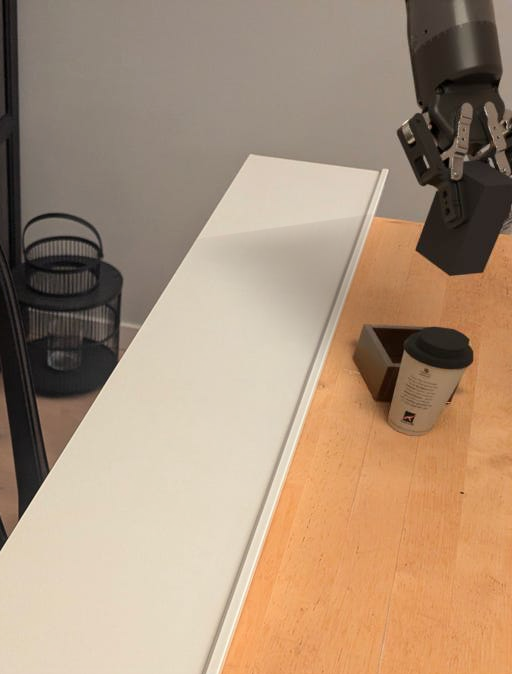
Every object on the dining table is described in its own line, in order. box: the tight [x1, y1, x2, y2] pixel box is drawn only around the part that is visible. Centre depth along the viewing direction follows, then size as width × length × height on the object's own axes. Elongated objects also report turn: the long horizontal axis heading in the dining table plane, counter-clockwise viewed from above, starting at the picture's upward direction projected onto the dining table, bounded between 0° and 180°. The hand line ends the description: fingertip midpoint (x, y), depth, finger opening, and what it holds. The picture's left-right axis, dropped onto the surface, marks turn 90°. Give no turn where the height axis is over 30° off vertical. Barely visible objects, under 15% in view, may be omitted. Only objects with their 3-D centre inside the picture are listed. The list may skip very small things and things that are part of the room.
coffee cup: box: [386, 326, 474, 437], centre depth 95 cm, size 7×7×10 cm
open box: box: [352, 323, 462, 403], centre depth 104 cm, size 9×10×4 cm
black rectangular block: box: [414, 160, 512, 277], centre depth 89 cm, size 4×6×8 cm, turn 17°
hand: (479, 223), depth 88 cm, fingers closed on black rectangular block, 4 cm apart
